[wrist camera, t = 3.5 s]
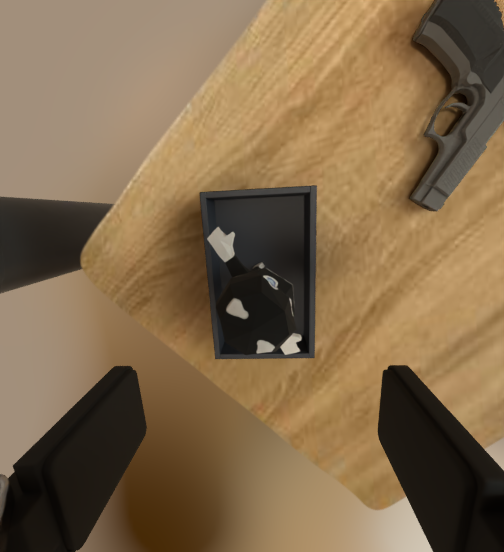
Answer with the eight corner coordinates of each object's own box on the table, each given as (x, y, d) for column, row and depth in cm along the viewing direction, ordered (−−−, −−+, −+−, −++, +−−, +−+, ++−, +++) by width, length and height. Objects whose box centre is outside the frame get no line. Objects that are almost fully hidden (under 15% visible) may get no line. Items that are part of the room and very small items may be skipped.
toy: (312, 304, 30) (353, 389, 16) (269, 328, 31) (271, 427, 17) (252, 209, 28) (236, 204, 13) (209, 238, 29) (150, 262, 14)
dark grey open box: (222, 339, 33) (215, 359, 28) (209, 195, 28) (199, 192, 24) (308, 338, 32) (314, 358, 28) (309, 189, 28) (316, 185, 23)
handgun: (343, 153, 24) (446, 214, 25) (464, -51, 19) (590, 30, 20) (336, 159, 27) (427, 212, 28) (439, -16, 23) (548, 53, 23)
